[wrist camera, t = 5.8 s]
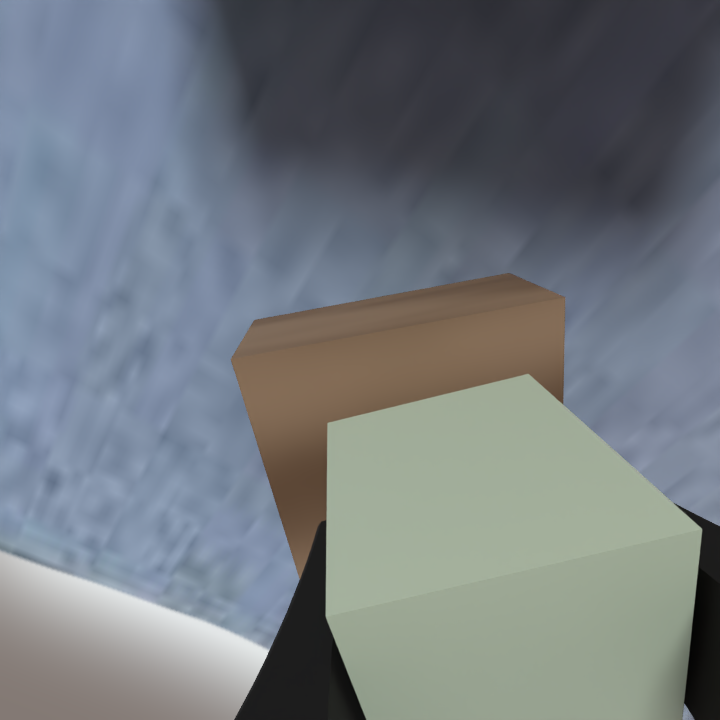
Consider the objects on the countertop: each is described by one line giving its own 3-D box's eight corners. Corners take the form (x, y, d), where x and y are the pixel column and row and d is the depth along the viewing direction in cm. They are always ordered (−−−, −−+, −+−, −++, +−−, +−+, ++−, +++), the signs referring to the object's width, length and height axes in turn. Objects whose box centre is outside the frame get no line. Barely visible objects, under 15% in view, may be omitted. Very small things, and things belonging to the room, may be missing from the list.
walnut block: (512, 475, 18) (560, 548, 14) (310, 513, 18) (305, 595, 14) (505, 271, 15) (565, 297, 11) (255, 317, 15) (230, 359, 11)
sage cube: (542, 528, 12) (679, 743, 7) (372, 568, 12) (400, 804, 7) (528, 373, 10) (701, 528, 5) (327, 422, 10) (325, 616, 5)
